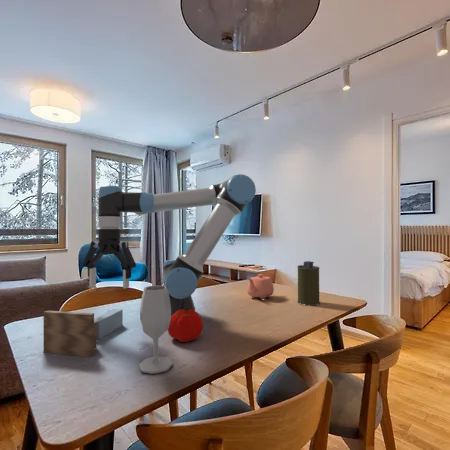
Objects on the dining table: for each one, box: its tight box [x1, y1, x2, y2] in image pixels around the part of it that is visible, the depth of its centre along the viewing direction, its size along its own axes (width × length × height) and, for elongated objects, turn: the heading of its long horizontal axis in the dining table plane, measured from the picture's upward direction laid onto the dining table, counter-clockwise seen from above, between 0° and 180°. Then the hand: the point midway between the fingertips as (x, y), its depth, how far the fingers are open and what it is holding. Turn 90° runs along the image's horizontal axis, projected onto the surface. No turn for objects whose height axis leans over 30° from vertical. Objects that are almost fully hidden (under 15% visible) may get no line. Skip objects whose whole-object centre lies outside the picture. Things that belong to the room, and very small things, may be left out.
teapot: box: [246, 273, 275, 300], centre depth 152 cm, size 20×12×12 cm, turn 140°
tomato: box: [167, 309, 204, 343], centre depth 97 cm, size 11×12×9 cm
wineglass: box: [138, 284, 173, 375], centre depth 77 cm, size 9×9×21 cm
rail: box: [94, 308, 124, 341], centre depth 104 cm, size 4×15×6 cm, turn 168°
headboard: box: [42, 310, 98, 358], centre depth 88 cm, size 16×6×12 cm, turn 78°
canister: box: [297, 260, 321, 306], centre depth 141 cm, size 11×10×20 cm
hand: (109, 286), depth 106 cm, fingers open, 13 cm apart
